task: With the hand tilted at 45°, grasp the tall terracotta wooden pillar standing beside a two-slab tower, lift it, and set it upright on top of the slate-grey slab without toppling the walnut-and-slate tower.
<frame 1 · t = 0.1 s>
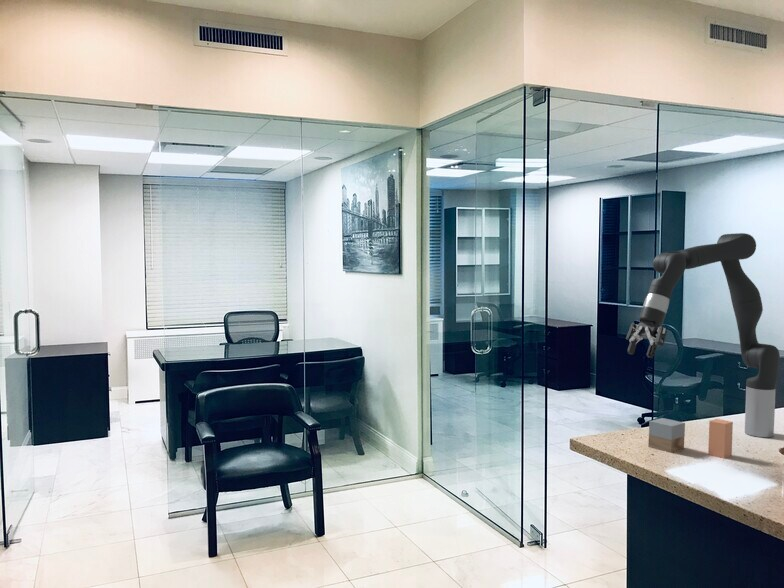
hand: (639, 355, 207), 31 cm above the countertop, fingers open, 8 cm apart
tower bottom slab: (666, 448, 210), on the countertop, touching tower top slab
pillar: (719, 455, 202), on the countertop
tower top slab: (666, 435, 210), point 4 cm above the countertop, touching tower bottom slab
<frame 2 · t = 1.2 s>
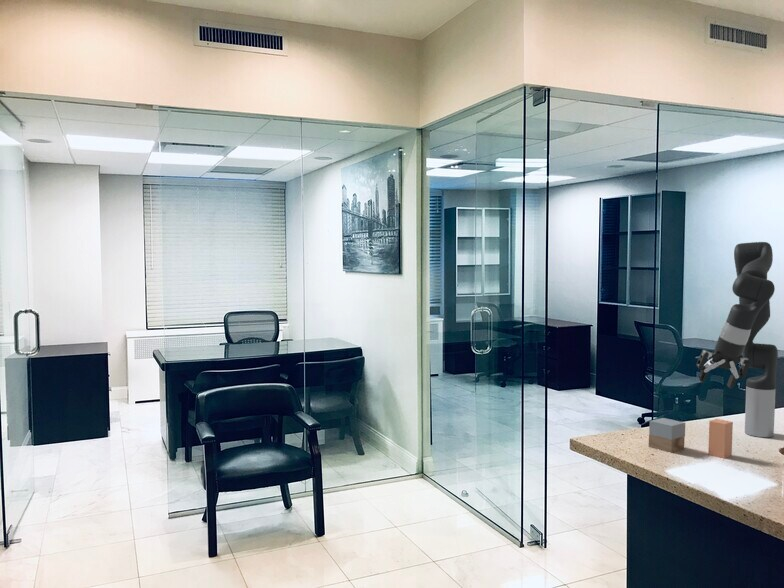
hand: (715, 384, 196), 24 cm above the countertop, fingers open, 8 cm apart
tower bottom slab: (666, 448, 210), on the countertop
tower top slab: (667, 435, 210), point 4 cm above the countertop
everything else where it was.
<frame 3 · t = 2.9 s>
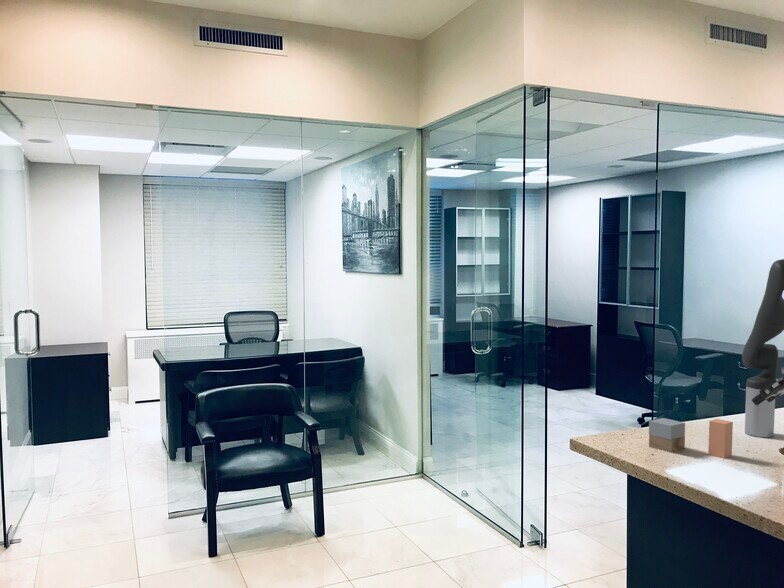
hand: (760, 401, 192), 20 cm above the countertop, fingers open, 8 cm apart
tower bottom slab: (666, 448, 210), on the countertop, touching tower top slab
tower top slab: (666, 435, 210), point 4 cm above the countertop, touching tower bottom slab
everything else where it was.
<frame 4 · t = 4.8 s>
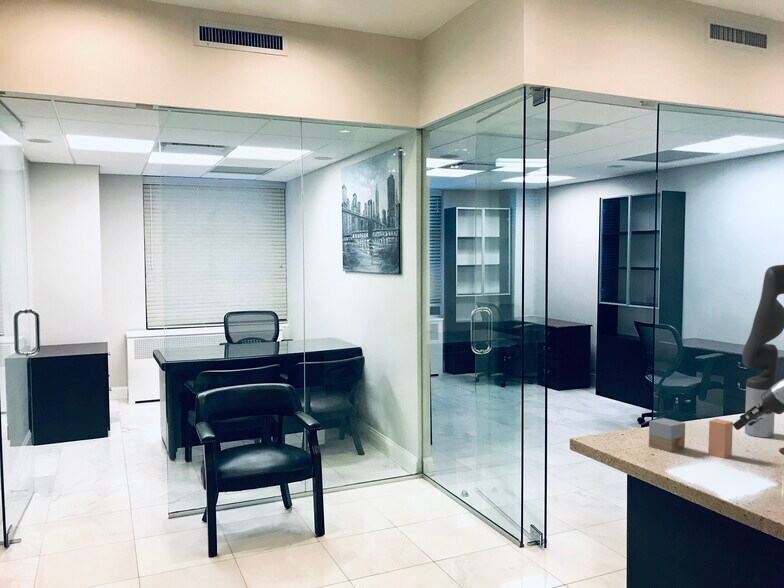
hand: (741, 425, 197), 11 cm above the countertop, fingers open, 8 cm apart
nothing on the countertop moved.
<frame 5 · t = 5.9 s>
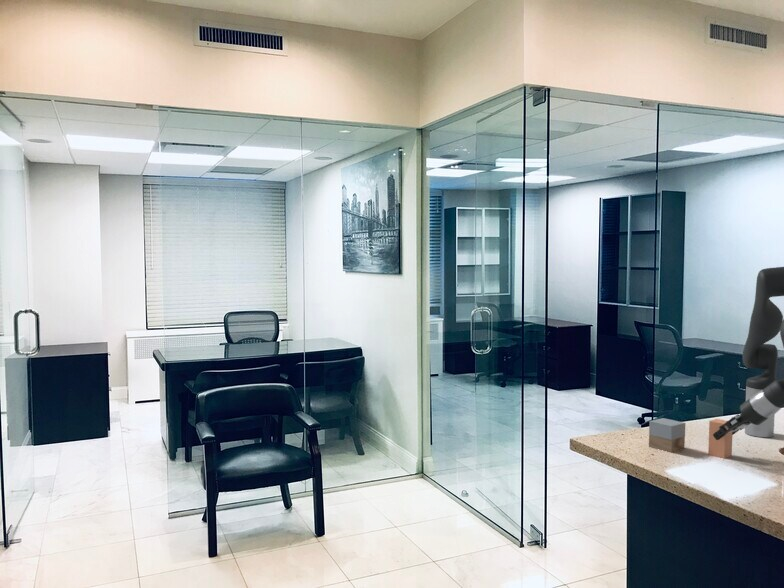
hand: (721, 435, 202), 6 cm above the countertop, fingers open, 8 cm apart
nothing on the countertop moved.
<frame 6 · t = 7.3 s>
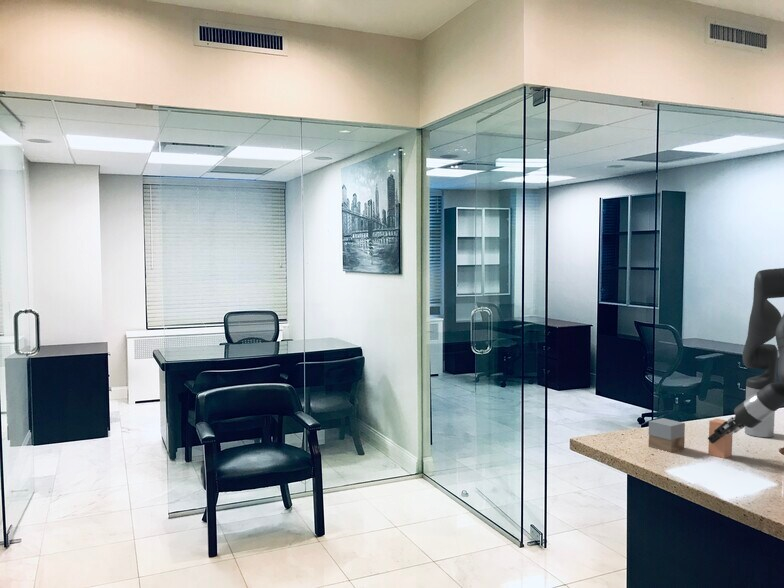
hand: (714, 439, 204), 5 cm above the countertop, fingers closed on pillar, 5 cm apart
tower bottom slab: (666, 448, 210), on the countertop
pillar: (719, 455, 202), on the countertop, touching gripper
tower top slab: (666, 435, 210), point 4 cm above the countertop
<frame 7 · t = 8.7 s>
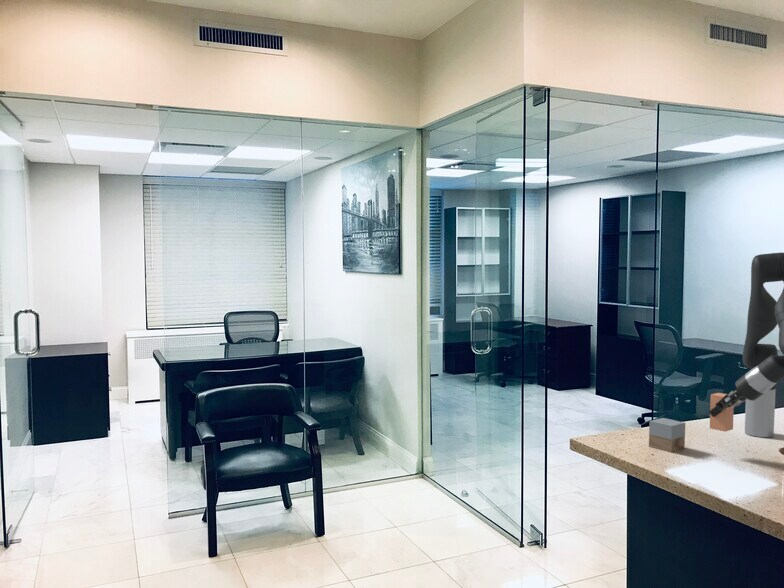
hand: (715, 413, 203), 13 cm above the countertop, fingers closed on pillar, 5 cm apart
pillar: (721, 428, 202), point 9 cm above the countertop, touching gripper
everything else where it was.
when the fingers open (15 cm above the countertop, at t = 12.2 s): pillar drops 2 cm, resting on tower top slab.
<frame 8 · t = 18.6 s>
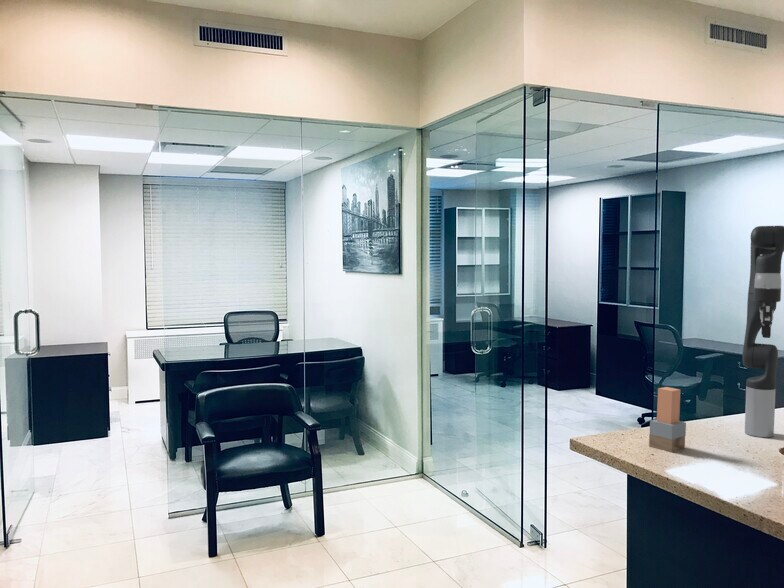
hand: (765, 336, 205), 38 cm above the countertop, fingers open, 8 cm apart
tower bottom slab: (666, 448, 210), on the countertop, touching tower top slab
pillar: (667, 421, 210), point 9 cm above the countertop, touching tower top slab
tower top slab: (667, 434, 210), point 4 cm above the countertop, touching pillar, tower bottom slab
at the end: pillar 0.1 cm off-centre on the tower bottom slab, point 9.1 cm above the tower bottom slab's base; pillar tilted 1°; tower top slab moved 0.6 cm from its start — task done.
